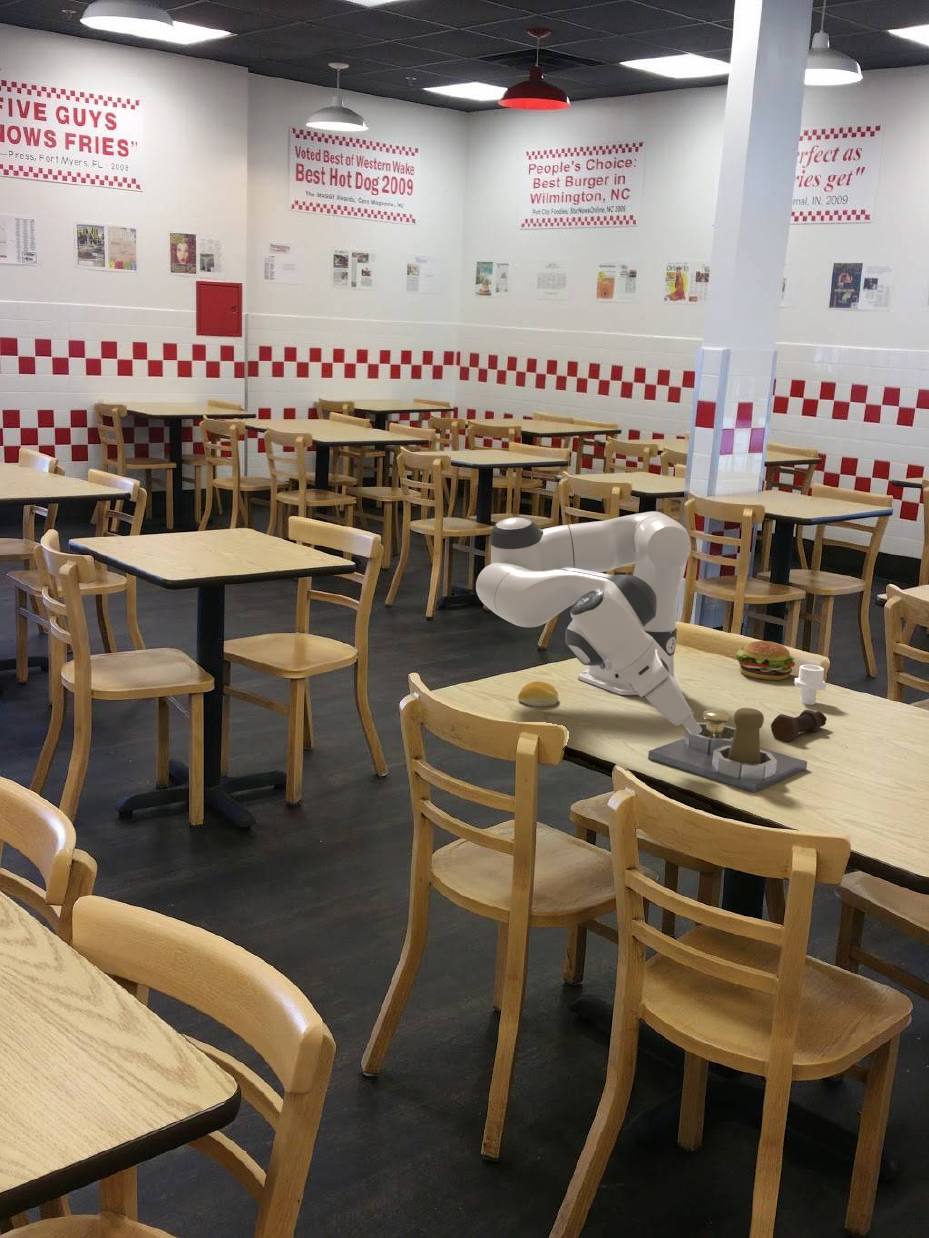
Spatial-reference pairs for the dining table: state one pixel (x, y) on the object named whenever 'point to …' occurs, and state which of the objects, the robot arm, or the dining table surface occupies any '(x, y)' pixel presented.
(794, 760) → the bolt plate
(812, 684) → the pipe fitting
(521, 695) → the bread roll
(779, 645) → the food
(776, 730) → the bolt
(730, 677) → the dining table surface
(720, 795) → the dining table surface
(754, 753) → the cork
